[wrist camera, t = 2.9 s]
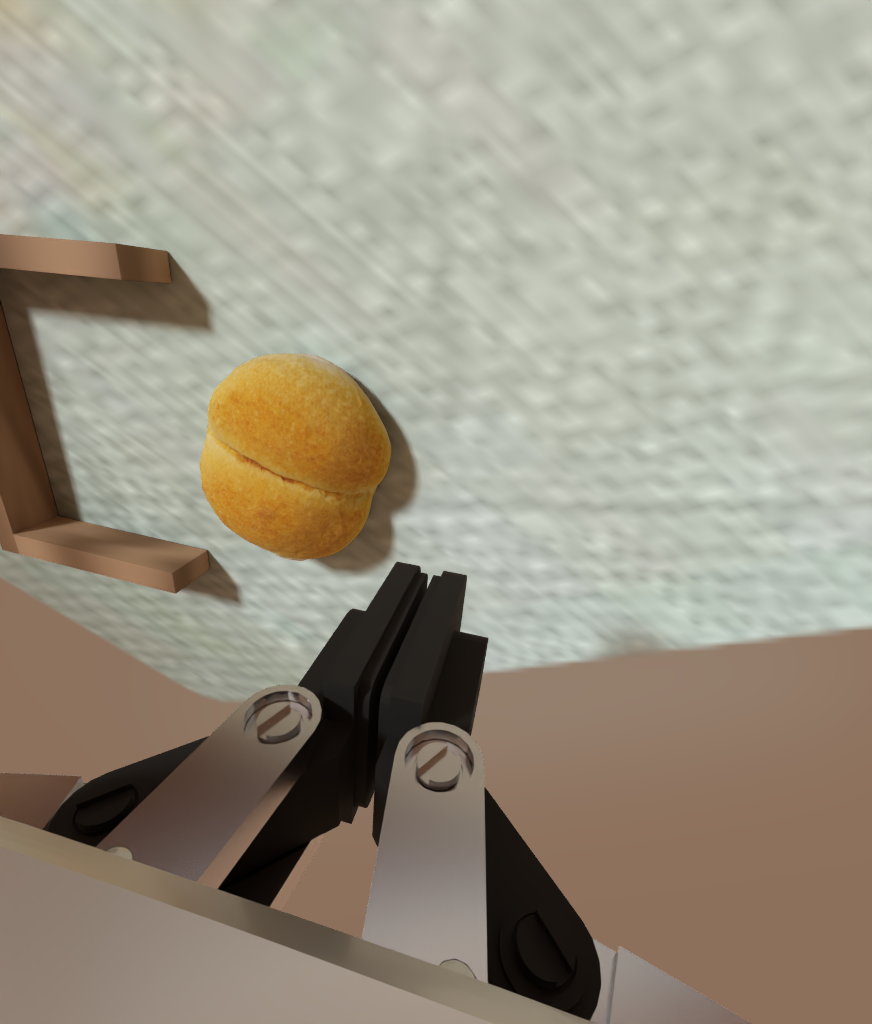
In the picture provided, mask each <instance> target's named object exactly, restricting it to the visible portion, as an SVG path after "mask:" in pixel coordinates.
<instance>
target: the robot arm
mask: <svg viewBox="0 0 872 1024" xmlns="http://www.w3.org/2000/svg"><path fill="white" fill-rule="evenodd" d="M427 581H428V575H427V574H425V573H421V569H420V566H416V565H411V564H406V563H401V562H397V563H396V564H395V565H394V567H393V568H392V570H391V572H390V573H389V575H388V576H387V578H386V580H385V581H384V583H383V584H382V586H381V587H380V589H379V591H378V592H377V594H376V595H375V597H374V599H373V600H372V602H371V603H370V605H369V607H368V608H367V610H366V611H362V610H357V609H351V610H350V611H349V612H348V613H347V614H346V616H345V617H344V619H343V620H342V622H341V623H340V625H339V626H338V628H337V629H336V630H335V632H334V633H333V635H332V636H331V638H330V639H329V641H328V642H327V644H326V645H325V647H324V648H323V649H322V651H321V652H320V654H319V655H318V657H317V658H316V660H315V661H314V663H313V664H312V666H311V667H310V669H309V670H308V671H307V673H306V674H305V676H304V677H303V679H302V680H301V682H300V683H299V685H298V686H296V685H277V686H273V687H268V688H266V689H264V690H261V691H259V692H257V693H255V694H254V695H252V696H251V697H250V698H248V699H247V700H246V701H245V702H244V703H243V704H242V705H241V706H239V707H238V708H237V709H236V710H235V712H233V713H232V714H231V715H230V716H229V717H228V718H227V719H226V720H225V721H224V722H223V723H222V724H221V725H220V726H219V727H218V728H217V729H216V730H215V731H214V732H213V733H212V734H211V735H210V736H208V737H205V738H202V739H200V740H197V741H194V742H192V743H189V744H186V745H183V746H180V747H178V748H175V749H172V750H169V751H167V752H164V753H161V754H158V755H155V756H153V757H150V758H147V759H144V760H142V761H139V762H136V763H133V764H131V765H128V766H125V767H123V768H120V769H117V770H114V771H111V772H109V773H106V774H104V775H102V776H100V777H98V778H95V779H93V780H91V781H90V782H88V783H83V780H82V777H81V776H66V775H43V774H19V773H0V1024H751V1023H750V1022H748V1021H746V1020H745V1019H743V1018H741V1017H740V1016H738V1015H736V1014H734V1013H733V1012H731V1011H729V1010H728V1009H726V1008H724V1007H723V1006H721V1005H719V1004H717V1003H716V1002H714V1001H712V1000H710V999H709V998H707V997H706V996H704V995H702V994H700V993H699V992H697V991H695V990H694V989H692V988H690V987H689V986H687V985H685V984H683V983H682V982H680V981H678V980H677V979H675V978H673V977H672V976H670V975H668V974H666V973H665V972H663V971H661V970H660V969H658V968H656V967H654V966H653V965H651V964H649V963H647V962H646V961H644V960H642V959H641V958H639V957H637V956H636V955H634V954H632V953H631V952H629V951H627V950H626V949H624V948H622V947H620V946H619V947H618V949H617V951H616V952H615V951H613V950H611V949H610V948H608V947H606V946H605V945H603V944H601V943H600V942H598V941H596V940H594V939H593V938H592V937H591V936H590V934H589V932H588V930H587V928H586V927H585V925H584V923H583V921H582V920H581V918H580V917H579V916H578V914H577V913H576V912H575V910H574V909H573V908H572V906H571V905H570V903H569V902H568V901H567V899H566V898H565V896H564V895H563V894H562V892H561V891H560V890H559V888H558V887H557V885H556V884H555V883H554V881H553V880H552V879H551V877H550V876H549V874H548V873H547V872H546V870H545V869H544V868H543V866H542V865H541V863H540V862H539V861H538V859H537V858H536V857H535V855H534V854H533V852H532V851H531V850H530V848H529V847H528V846H527V844H526V843H525V842H524V840H523V839H522V837H521V836H520V835H519V833H518V832H517V831H516V829H515V828H514V826H513V825H512V824H511V822H510V821H509V819H508V818H507V817H506V815H505V814H504V813H503V811H502V810H501V809H500V807H499V806H498V804H497V803H496V802H495V800H494V799H493V798H492V796H491V795H490V793H489V792H488V791H487V789H486V788H485V786H484V762H483V757H482V752H481V750H480V748H479V747H478V745H477V743H476V741H475V740H474V739H473V738H472V737H471V732H472V727H473V721H474V717H475V711H476V706H477V701H478V696H479V691H480V685H481V680H482V674H483V668H484V662H485V656H486V650H487V644H488V638H486V637H481V636H477V635H472V634H468V633H463V632H460V627H461V620H462V612H463V605H464V597H465V589H466V582H467V575H462V574H457V573H452V572H447V571H443V573H442V575H441V576H436V575H434V576H433V577H432V580H431V582H430V584H429V586H428V588H427ZM374 790H375V791H374ZM373 793H374V812H373V813H374V814H373V833H372V836H373V838H374V840H375V843H376V845H377V847H378V851H377V857H376V862H375V867H374V873H373V879H372V884H371V889H370V895H369V901H368V906H367V912H366V917H365V923H364V928H363V934H362V939H360V938H357V937H354V936H351V935H348V934H346V933H343V932H340V931H337V930H334V929H331V928H328V927H326V926H323V925H320V924H316V923H314V922H311V921H308V920H305V919H302V918H299V917H297V916H294V915H291V914H288V913H285V912H282V911H281V910H282V909H283V907H284V905H285V904H286V902H287V900H288V899H289V897H290V895H291V894H292V892H293V890H294V889H295V887H296V885H297V884H298V882H299V880H300V879H301V877H302V875H303V874H304V872H305V870H306V869H307V867H308V865H309V864H310V862H311V860H312V859H313V857H314V855H315V854H316V852H317V850H318V848H319V846H320V844H321V841H322V839H323V834H324V833H326V832H328V831H329V830H331V829H333V828H335V827H337V826H339V824H340V822H341V821H344V822H347V823H350V824H352V821H353V819H354V816H355V814H356V811H357V809H358V806H361V807H364V808H367V807H368V805H369V803H370V801H371V798H372V795H373Z"/></svg>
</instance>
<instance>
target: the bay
mask: <svg viewBox="0 0 872 1024" xmlns="http://www.w3.org/2000/svg"><path fill="white" fill-rule="evenodd" d="M0 268H7V269H17V270H28V271H38V272H48V273H58V274H68V275H78V276H88V277H98V278H108V279H118V280H131V281H146V282H161V283H171V276H170V268H169V261H168V253H167V251H162V250H156V249H149V248H142V247H135V246H128V245H122V244H114V243H102V242H90V241H77V240H65V239H53V238H40V237H28V236H16V235H3V234H0ZM0 544H1V547H2V550H6V551H10V552H14V553H18V554H22V555H26V556H30V557H34V558H38V559H42V560H46V561H50V562H53V563H57V564H61V565H65V566H69V567H73V568H77V569H81V570H85V571H89V572H93V573H97V574H101V575H105V576H109V577H113V578H116V579H120V580H124V581H128V582H132V583H136V584H140V585H144V586H148V587H152V588H156V589H160V590H164V591H168V592H172V593H177V592H178V591H180V590H181V589H183V588H184V587H185V586H187V585H188V584H190V583H191V582H192V581H194V580H195V579H197V578H198V577H199V576H201V575H202V574H204V573H205V572H206V571H208V570H209V569H210V568H209V561H208V553H207V550H204V549H200V548H195V547H191V546H187V545H182V544H178V543H174V542H169V541H165V540H160V539H156V538H152V537H147V536H143V535H139V534H134V533H130V532H125V531H121V530H117V529H112V528H108V527H104V526H99V525H95V524H90V523H86V522H82V521H77V520H73V519H69V518H64V517H60V516H58V512H57V509H56V505H55V501H54V498H53V494H52V491H51V487H50V483H49V480H48V476H47V472H46V469H45V465H44V461H43V458H42V454H41V450H40V447H39V443H38V439H37V436H36V432H35V428H34V425H33V421H32V417H31V414H30V410H29V406H28V403H27V399H26V395H25V392H24V388H23V384H22V381H21V377H20V373H19V370H18V366H17V362H16V359H15V355H14V352H13V348H12V344H11V341H10V337H9V333H8V330H7V326H6V322H5V319H4V315H3V311H2V308H1V304H0Z"/></svg>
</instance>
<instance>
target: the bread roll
mask: <svg viewBox="0 0 872 1024" xmlns="http://www.w3.org/2000/svg"><path fill="white" fill-rule="evenodd" d="M390 459H391V443H390V439H389V436H388V433H387V430H386V428H385V426H384V425H383V423H382V421H381V419H380V417H379V415H378V414H377V412H376V410H375V408H374V407H373V405H372V403H371V402H370V400H369V398H368V397H367V396H366V394H365V393H364V392H363V391H362V389H361V388H360V387H359V385H358V384H357V383H356V382H355V381H354V380H353V379H352V377H351V376H350V375H349V374H347V373H346V372H345V371H344V370H343V369H341V368H340V367H338V366H337V365H335V364H333V363H332V362H330V361H328V360H326V359H324V358H321V357H318V356H314V355H309V354H272V355H264V356H260V357H257V358H254V359H251V360H250V361H248V362H246V363H244V364H242V365H240V366H238V367H237V368H235V369H234V370H233V371H232V373H231V374H230V375H229V376H228V377H227V378H225V379H224V380H223V381H222V382H221V383H220V384H219V385H218V386H217V388H216V389H215V390H214V392H213V394H212V397H211V399H210V402H209V407H208V429H207V435H206V440H205V443H204V447H203V451H202V456H201V461H200V470H201V480H202V489H203V491H204V493H205V495H206V498H207V500H208V502H209V503H210V505H211V507H212V508H213V510H214V511H215V513H216V514H217V516H218V517H219V518H220V520H221V521H222V522H223V523H224V524H225V525H226V526H227V527H228V528H230V529H231V530H232V531H233V532H235V533H236V534H238V535H239V536H241V537H242V538H244V539H245V540H247V541H249V542H250V543H253V544H255V545H257V546H259V547H261V548H263V549H266V550H268V551H270V552H273V553H275V554H276V555H278V556H280V557H283V558H288V559H290V560H298V561H303V560H306V559H314V558H321V557H327V556H330V555H333V554H335V553H337V552H339V551H341V550H342V549H344V548H345V547H346V546H347V545H348V544H349V543H350V542H352V541H353V540H354V539H355V538H356V537H357V535H358V534H359V533H360V532H361V530H362V528H363V527H364V525H365V523H366V521H367V518H368V514H369V511H370V508H371V503H372V498H373V496H374V493H375V491H376V488H377V486H378V484H379V483H380V482H381V481H382V480H383V478H384V476H385V475H386V473H387V471H388V468H389V464H390Z"/></svg>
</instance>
